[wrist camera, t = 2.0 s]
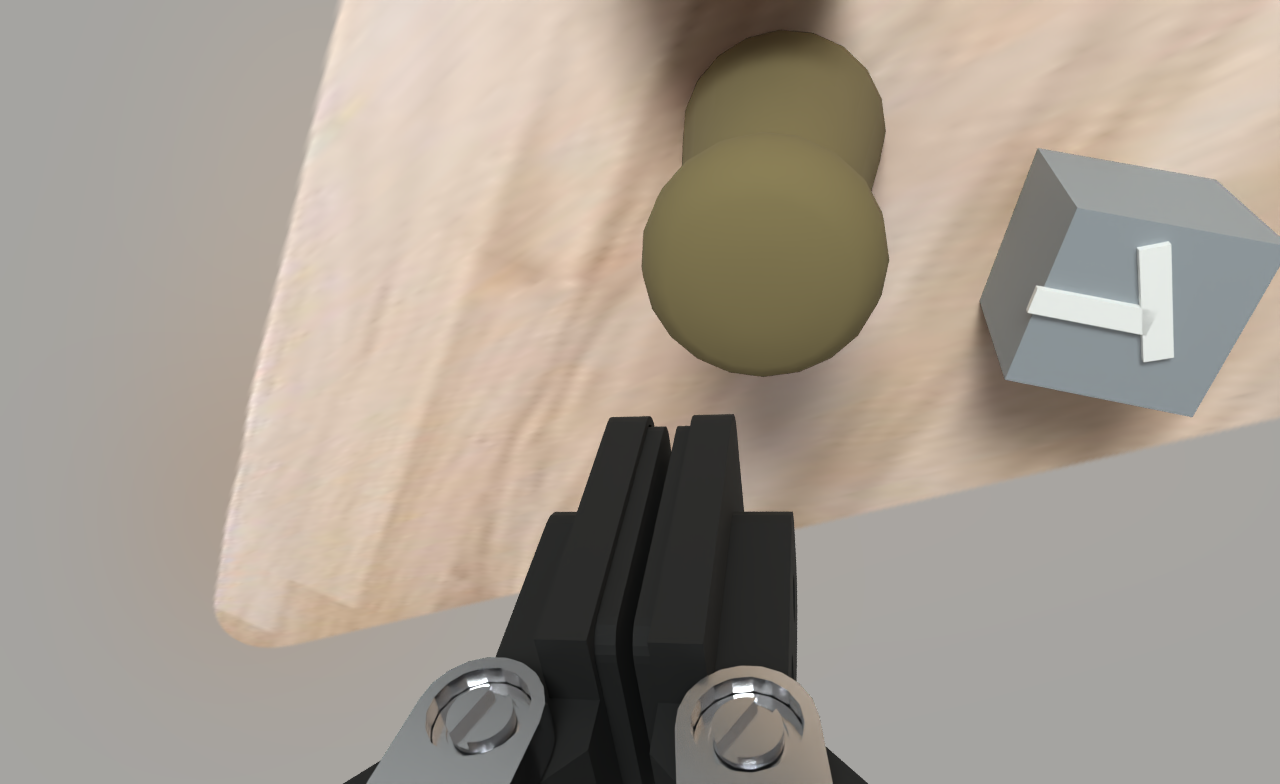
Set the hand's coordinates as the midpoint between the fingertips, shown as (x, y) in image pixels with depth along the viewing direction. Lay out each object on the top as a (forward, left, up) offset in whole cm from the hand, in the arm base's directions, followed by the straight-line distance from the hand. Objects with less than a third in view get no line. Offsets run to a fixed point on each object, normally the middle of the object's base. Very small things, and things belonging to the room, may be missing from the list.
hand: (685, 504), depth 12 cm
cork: (0, 0, -18) cm, 18 cm away
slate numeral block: (-10, +4, -18) cm, 21 cm away
